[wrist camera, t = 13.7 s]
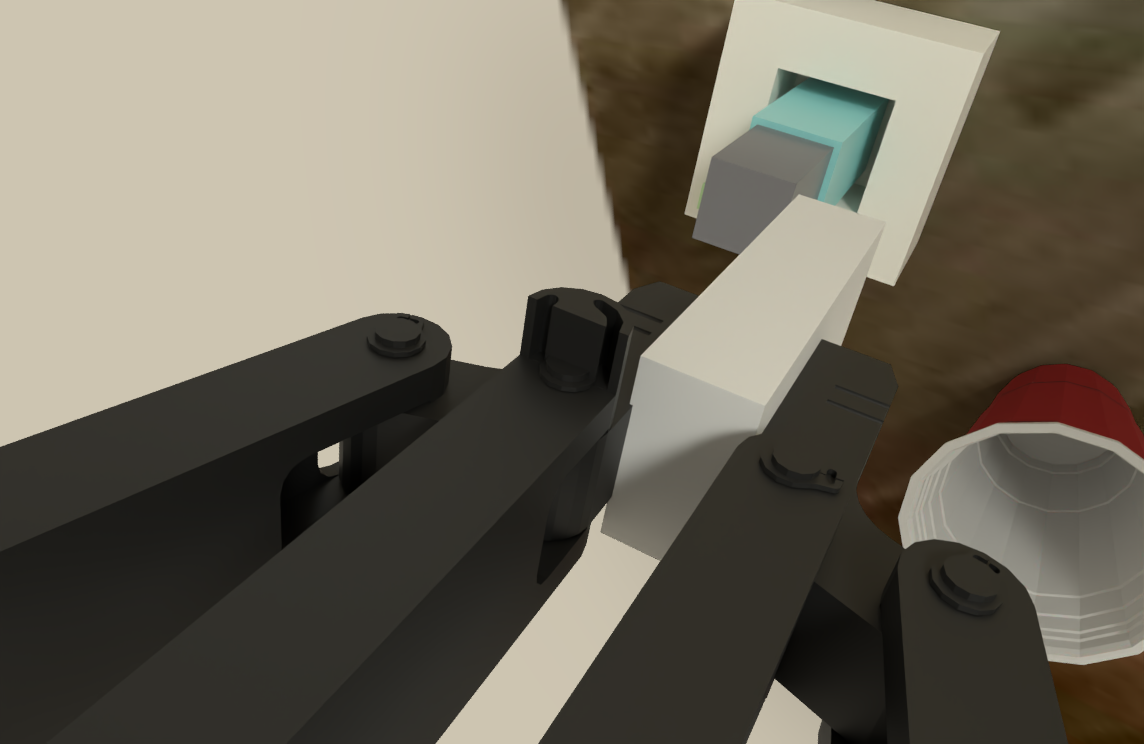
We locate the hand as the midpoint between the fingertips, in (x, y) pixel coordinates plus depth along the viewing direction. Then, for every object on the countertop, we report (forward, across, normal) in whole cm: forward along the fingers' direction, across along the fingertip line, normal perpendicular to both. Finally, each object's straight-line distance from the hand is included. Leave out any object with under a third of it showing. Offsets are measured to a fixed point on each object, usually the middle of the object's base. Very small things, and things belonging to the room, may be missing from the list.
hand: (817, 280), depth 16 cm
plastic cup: (+31, +9, -16) cm, 36 cm away
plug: (+28, -5, -5) cm, 29 cm away
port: (+30, -5, -5) cm, 31 cm away
